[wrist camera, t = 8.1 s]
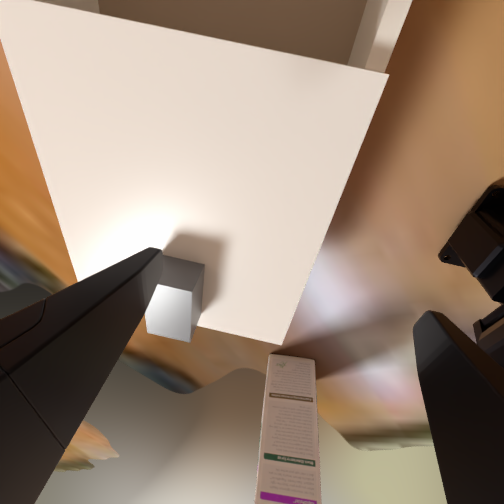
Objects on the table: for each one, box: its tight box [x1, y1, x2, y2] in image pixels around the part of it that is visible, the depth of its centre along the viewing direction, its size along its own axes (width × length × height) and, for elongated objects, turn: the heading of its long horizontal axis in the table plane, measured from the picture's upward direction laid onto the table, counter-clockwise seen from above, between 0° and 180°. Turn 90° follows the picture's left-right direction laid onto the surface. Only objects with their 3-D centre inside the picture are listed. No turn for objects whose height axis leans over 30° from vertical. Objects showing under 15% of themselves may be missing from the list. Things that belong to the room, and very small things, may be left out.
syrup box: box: [255, 354, 322, 504], centre depth 30 cm, size 6×6×14 cm
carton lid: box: [0, 0, 389, 345], centre depth 15 cm, size 16×18×3 cm
